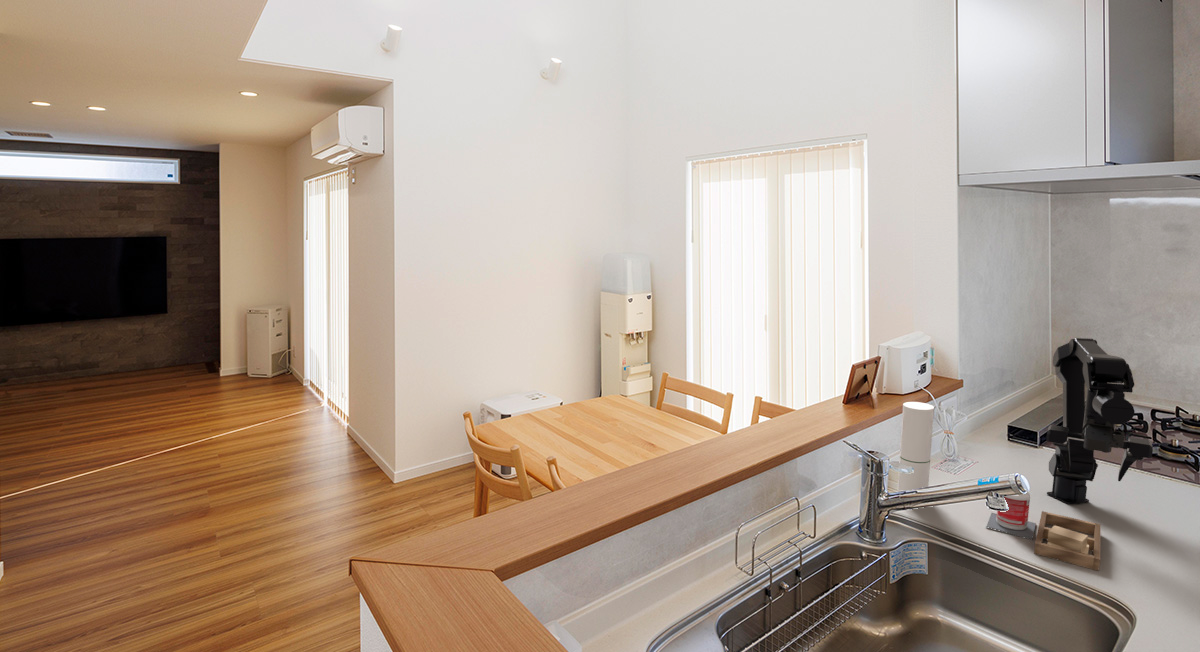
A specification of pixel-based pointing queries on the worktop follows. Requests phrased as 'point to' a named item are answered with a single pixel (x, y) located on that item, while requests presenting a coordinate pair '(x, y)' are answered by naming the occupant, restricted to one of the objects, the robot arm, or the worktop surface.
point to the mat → (1022, 533)
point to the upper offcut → (1067, 538)
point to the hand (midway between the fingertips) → (1093, 475)
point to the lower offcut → (1071, 549)
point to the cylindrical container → (916, 444)
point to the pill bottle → (1015, 512)
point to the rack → (1067, 554)
